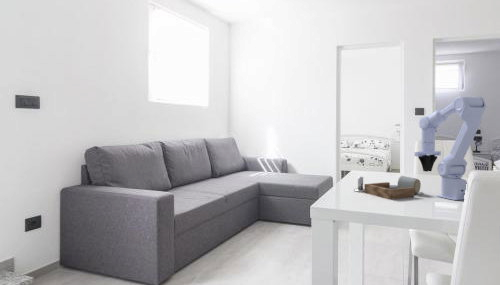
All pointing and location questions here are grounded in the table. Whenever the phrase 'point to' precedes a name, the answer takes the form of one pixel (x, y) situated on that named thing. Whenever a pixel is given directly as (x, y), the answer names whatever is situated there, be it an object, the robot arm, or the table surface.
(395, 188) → the coaster
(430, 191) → the table surface
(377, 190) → the wooden tray
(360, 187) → the stand post
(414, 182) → the ceramic mug
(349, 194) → the table surface
